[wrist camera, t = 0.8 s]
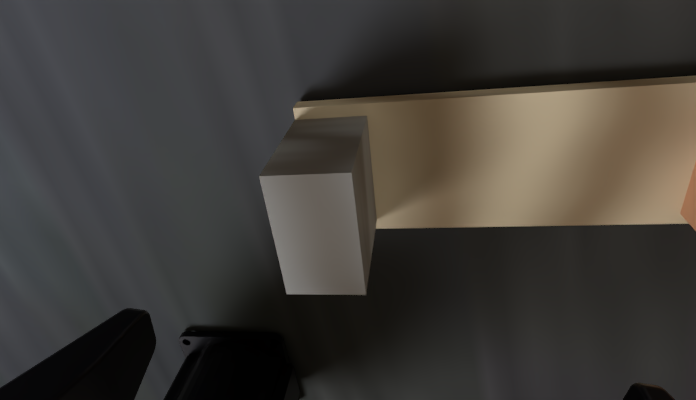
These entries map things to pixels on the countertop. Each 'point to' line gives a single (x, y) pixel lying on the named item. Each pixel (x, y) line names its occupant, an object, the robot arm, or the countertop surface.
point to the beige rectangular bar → (473, 167)
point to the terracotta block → (690, 201)
